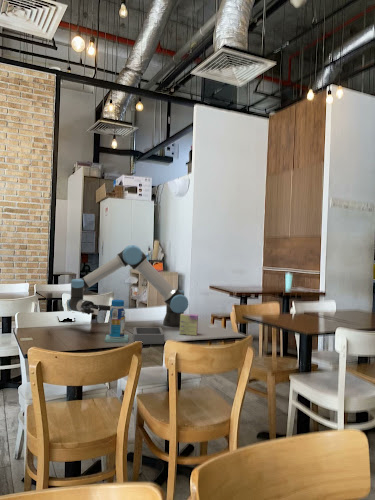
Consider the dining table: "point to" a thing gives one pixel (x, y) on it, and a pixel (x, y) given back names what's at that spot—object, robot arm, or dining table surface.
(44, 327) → the dining table surface
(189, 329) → the box
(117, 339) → the board
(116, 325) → the beverage bottle
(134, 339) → the gray rectangular frame
